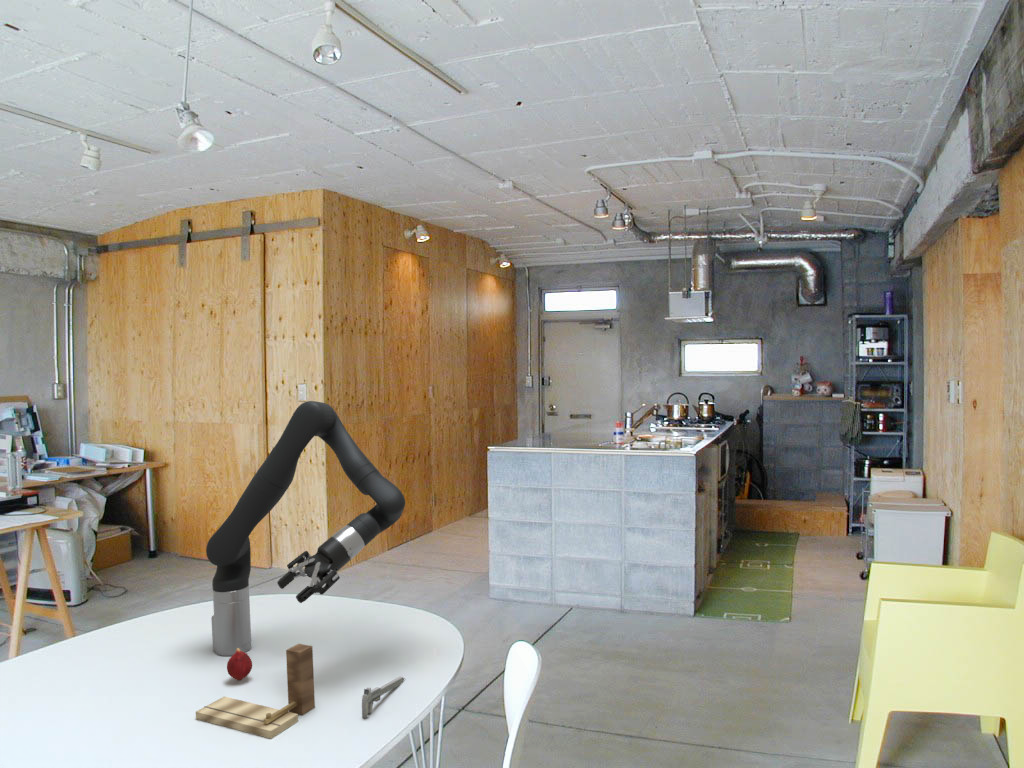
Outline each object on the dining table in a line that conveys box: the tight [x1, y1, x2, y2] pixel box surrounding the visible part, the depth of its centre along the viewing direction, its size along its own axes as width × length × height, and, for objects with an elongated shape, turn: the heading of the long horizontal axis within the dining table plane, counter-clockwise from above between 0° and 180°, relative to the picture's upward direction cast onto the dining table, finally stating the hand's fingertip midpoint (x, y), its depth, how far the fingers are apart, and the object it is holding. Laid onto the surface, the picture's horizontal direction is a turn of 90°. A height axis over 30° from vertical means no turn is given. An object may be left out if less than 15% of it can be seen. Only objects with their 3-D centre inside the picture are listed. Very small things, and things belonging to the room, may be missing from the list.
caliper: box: [361, 676, 406, 719], centre depth 173 cm, size 20×1×6 cm, turn 164°
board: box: [195, 696, 299, 739], centre depth 164 cm, size 22×8×2 cm, turn 64°
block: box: [263, 643, 316, 724], centre depth 164 cm, size 4×13×14 cm, turn 154°
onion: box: [226, 648, 253, 682], centre depth 184 cm, size 6×6×8 cm
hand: (288, 593), depth 177 cm, fingers open, 8 cm apart
